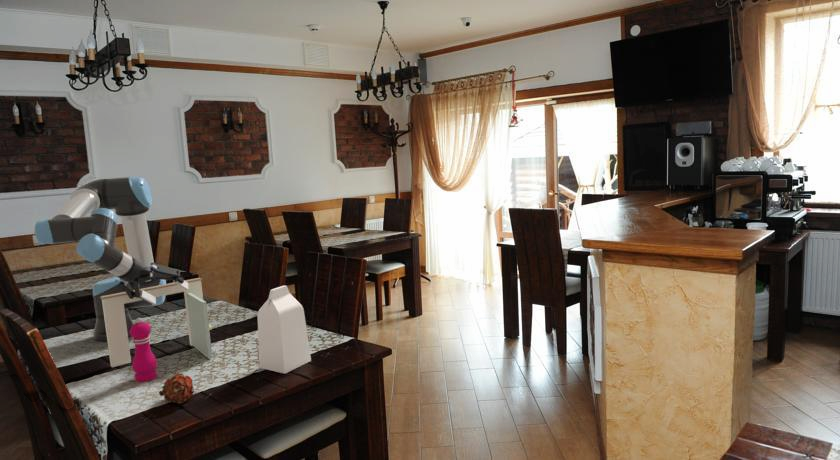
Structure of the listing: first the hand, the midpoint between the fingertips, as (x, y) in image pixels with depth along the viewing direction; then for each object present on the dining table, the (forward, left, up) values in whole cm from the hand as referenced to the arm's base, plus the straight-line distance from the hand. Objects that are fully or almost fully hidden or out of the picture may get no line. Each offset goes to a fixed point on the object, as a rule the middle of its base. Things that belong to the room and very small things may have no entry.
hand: (171, 293), depth 195 cm
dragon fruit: (+40, -14, -23) cm, 48 cm away
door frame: (-7, -3, -22) cm, 24 cm away
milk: (+39, +21, -23) cm, 50 cm away
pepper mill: (+14, -15, -23) cm, 30 cm away
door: (+4, +8, -22) cm, 24 cm away
